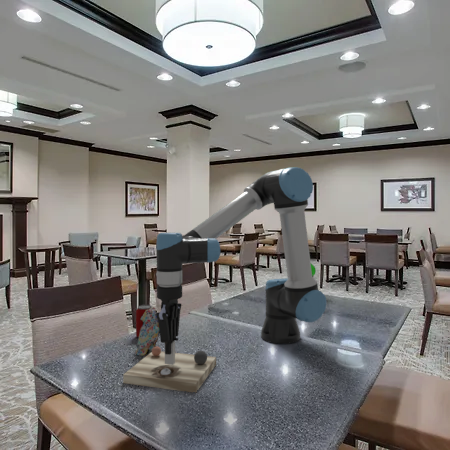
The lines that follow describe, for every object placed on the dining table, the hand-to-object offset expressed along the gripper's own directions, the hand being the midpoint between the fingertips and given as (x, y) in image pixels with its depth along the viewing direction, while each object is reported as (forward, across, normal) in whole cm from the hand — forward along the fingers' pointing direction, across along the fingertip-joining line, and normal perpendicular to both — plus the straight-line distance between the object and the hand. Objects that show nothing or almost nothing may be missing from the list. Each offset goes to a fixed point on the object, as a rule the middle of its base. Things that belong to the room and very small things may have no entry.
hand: (169, 363), depth 107 cm
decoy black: (-1, -5, +8) cm, 9 cm away
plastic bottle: (+4, -113, +35) cm, 118 cm away
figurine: (+4, -17, -16) cm, 24 cm away
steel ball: (+2, +3, 0) cm, 4 cm away
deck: (+4, -2, 0) cm, 4 cm away
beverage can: (+4, -30, -24) cm, 38 cm away
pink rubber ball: (0, -7, -8) cm, 11 cm away
